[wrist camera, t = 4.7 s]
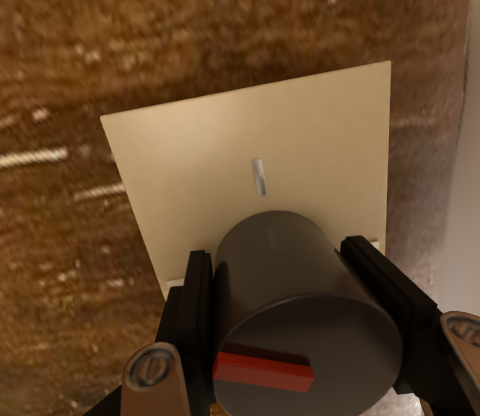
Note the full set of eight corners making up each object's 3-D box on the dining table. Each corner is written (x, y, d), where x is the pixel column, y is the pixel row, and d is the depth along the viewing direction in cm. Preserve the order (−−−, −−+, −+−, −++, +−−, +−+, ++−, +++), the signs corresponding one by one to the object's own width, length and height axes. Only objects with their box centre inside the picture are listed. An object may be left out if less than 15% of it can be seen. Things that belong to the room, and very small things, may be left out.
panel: (355, 314, 17) (384, 358, 14) (201, 343, 17) (196, 394, 14) (351, 70, 12) (395, 58, 9) (127, 113, 12) (95, 116, 9)
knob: (349, 227, 11) (455, 326, 6) (303, 318, 13) (357, 456, 8) (233, 195, 10) (246, 282, 5) (201, 297, 12) (187, 437, 7)
